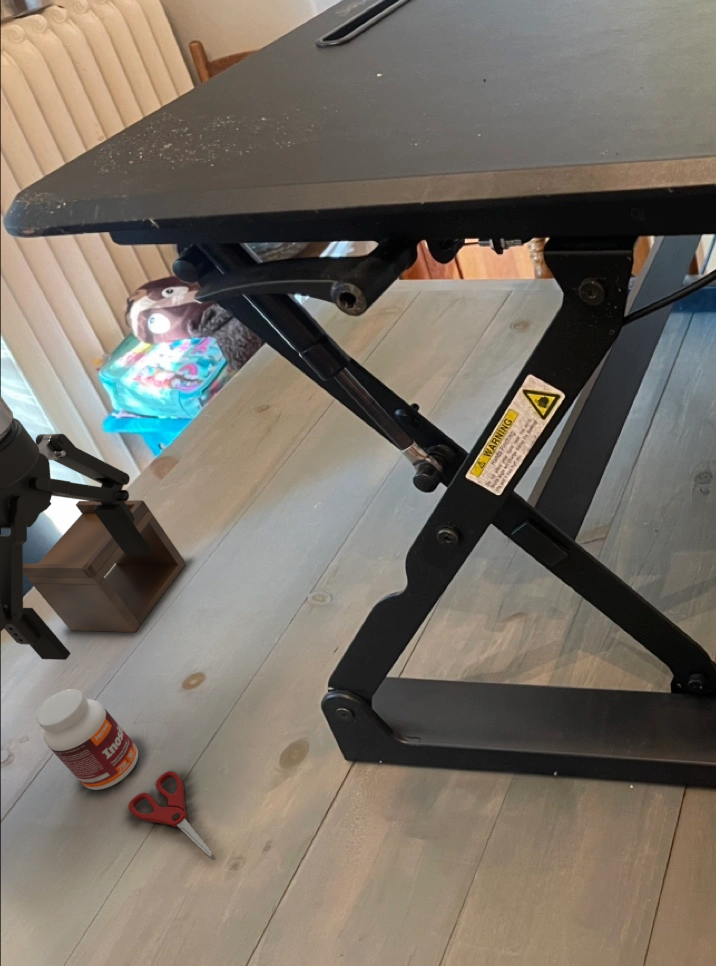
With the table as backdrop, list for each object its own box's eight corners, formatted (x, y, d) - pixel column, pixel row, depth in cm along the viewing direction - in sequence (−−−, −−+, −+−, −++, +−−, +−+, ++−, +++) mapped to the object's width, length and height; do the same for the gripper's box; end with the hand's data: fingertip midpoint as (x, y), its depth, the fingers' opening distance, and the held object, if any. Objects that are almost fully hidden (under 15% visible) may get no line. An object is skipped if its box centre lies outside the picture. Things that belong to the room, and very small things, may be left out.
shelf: (70, 630, 137) (18, 567, 130) (124, 562, 146) (79, 500, 139) (135, 632, 135) (86, 568, 128) (186, 563, 144) (143, 500, 137)
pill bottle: (136, 780, 116) (82, 720, 110) (78, 799, 116) (21, 740, 109) (144, 736, 121) (93, 675, 114) (89, 754, 120) (35, 694, 114)
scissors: (174, 771, 116) (169, 766, 116) (237, 837, 108) (232, 832, 108) (128, 809, 113) (123, 804, 113) (189, 879, 105) (185, 874, 105)
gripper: (-99, 541, 82) (51, 707, 95) (94, 353, 101) (198, 514, 114) (-175, 541, 84) (-17, 704, 97) (29, 357, 103) (138, 514, 116)
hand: (99, 602), depth 106 cm, fingers open, 13 cm apart
